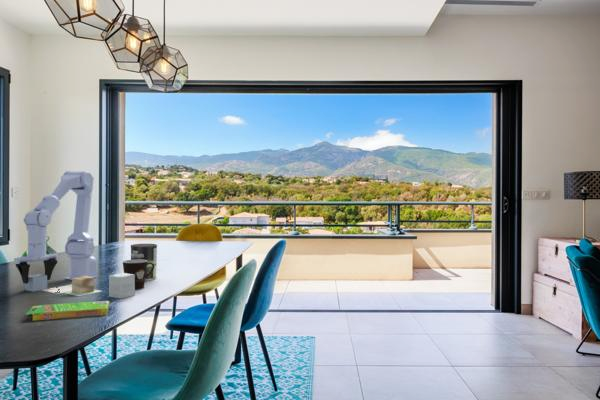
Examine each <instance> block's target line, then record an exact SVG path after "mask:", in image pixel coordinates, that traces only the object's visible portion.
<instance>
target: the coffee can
mask: <svg viewBox="0 0 600 400" xmlns="http://www.w3.org/2000/svg"><path fill="white" fill-rule="evenodd" d="M157 251H158V244H156V243H136V244H130V260H136V259H141V260H147V263H149V262H150V263H153V264H154V270H153V271H152V273H151V274H150V275H149V276H147V277H146V278H145V282H150V281H155V280H157V278H158V277H157V267H158V266H157V265H158V261H157V258H158V256H157ZM152 268H153V266H152V264H148V265H147V268H146V275H147V274H148V273H150V272H151V270H152Z"/></svg>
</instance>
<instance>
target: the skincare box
mask: <svg viewBox="0 0 600 400" xmlns="http://www.w3.org/2000/svg"><path fill="white" fill-rule="evenodd" d="M135 292H136V290H135V275H134V274H127V273H124V272H121V273H116V274H110V275H108V297H109V298H114V299H115V298H116V299H124V298H129V297H134V296H135V295H136V293H135Z"/></svg>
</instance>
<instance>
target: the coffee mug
mask: <svg viewBox="0 0 600 400" xmlns="http://www.w3.org/2000/svg"><path fill="white" fill-rule="evenodd" d="M148 264H152V266H153V268H152V270H151V272H150V273H148V274H147V275H146V268H147V265H148ZM122 267H123V268H122V269H123V273H127V274H134V275H135V291H137V290H142V289H144V288H145V283H146V281H145V278H146V277H147V276H149V275H150V274H151V273H152V271H153V270H154V264H153V263H150V262H149V263H147V260H141V259H136V260H131V259H126V260H123V261H122Z"/></svg>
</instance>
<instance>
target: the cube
mask: <svg viewBox="0 0 600 400" xmlns="http://www.w3.org/2000/svg"><path fill="white" fill-rule="evenodd" d="M45 289H48V280H47V275H45V274H40V273H39V274H32V275H28V283H27V284H25V283H24V290H25V291H27V292H38V291H43V290H45Z"/></svg>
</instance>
